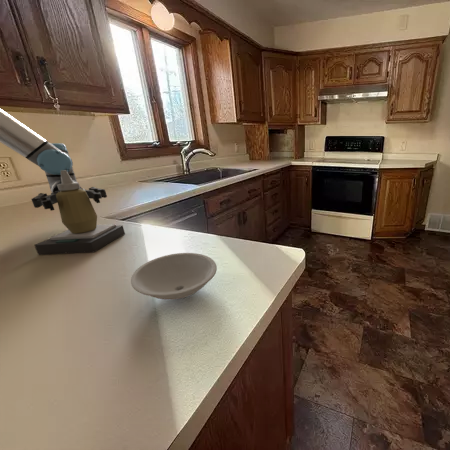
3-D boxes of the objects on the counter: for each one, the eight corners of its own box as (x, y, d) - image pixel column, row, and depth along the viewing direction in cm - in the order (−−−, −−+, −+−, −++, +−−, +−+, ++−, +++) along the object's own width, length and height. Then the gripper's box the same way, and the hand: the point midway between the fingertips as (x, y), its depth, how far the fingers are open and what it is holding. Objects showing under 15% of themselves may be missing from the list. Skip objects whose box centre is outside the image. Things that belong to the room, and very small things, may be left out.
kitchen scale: (38, 254, 68) (32, 242, 66) (78, 235, 81) (74, 225, 80) (94, 252, 68) (89, 239, 67) (125, 233, 81) (122, 223, 80)
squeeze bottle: (103, 229, 74) (84, 169, 68) (68, 237, 69) (43, 173, 63) (98, 224, 80) (80, 168, 74) (65, 231, 74) (42, 171, 68)
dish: (236, 292, 48) (233, 270, 47) (159, 334, 38) (151, 308, 37) (193, 265, 60) (190, 246, 58) (125, 292, 49) (118, 270, 48)
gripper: (110, 196, 91) (124, 206, 77) (25, 209, 77) (23, 224, 62) (104, 176, 89) (118, 182, 74) (15, 185, 74) (11, 195, 59)
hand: (75, 201), depth 68 cm, fingers open, 9 cm apart
